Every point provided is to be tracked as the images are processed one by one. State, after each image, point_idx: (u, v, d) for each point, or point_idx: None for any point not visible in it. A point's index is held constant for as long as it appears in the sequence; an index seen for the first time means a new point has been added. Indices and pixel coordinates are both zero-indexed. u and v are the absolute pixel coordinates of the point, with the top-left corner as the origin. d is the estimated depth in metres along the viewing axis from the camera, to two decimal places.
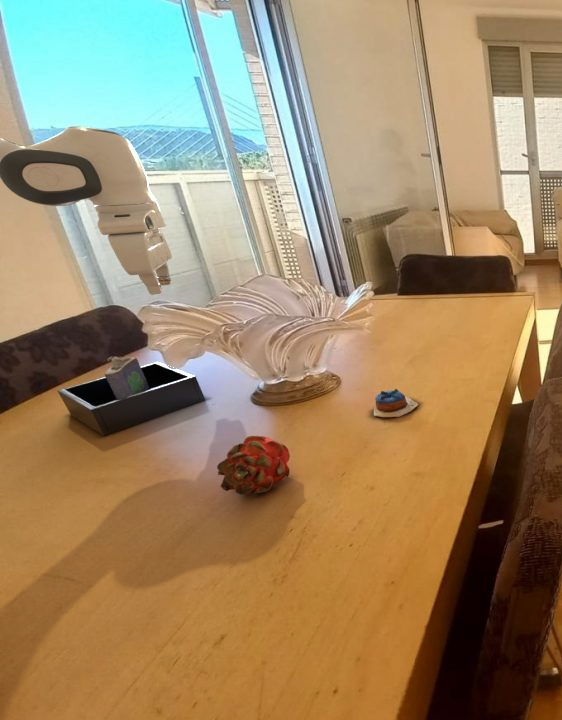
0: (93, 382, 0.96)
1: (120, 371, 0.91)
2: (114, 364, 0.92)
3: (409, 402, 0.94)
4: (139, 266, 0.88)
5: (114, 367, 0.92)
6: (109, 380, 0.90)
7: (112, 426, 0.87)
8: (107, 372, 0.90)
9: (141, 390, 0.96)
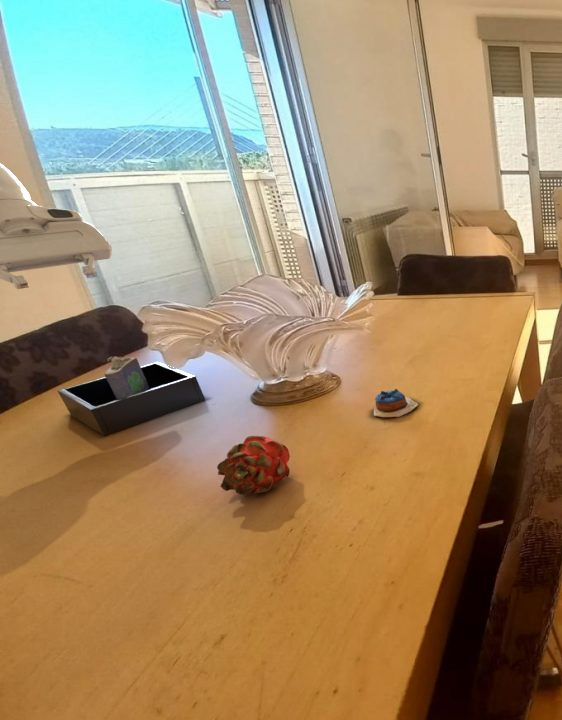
0: (93, 382, 0.96)
1: (120, 371, 0.91)
2: (114, 364, 0.92)
3: (409, 402, 0.94)
4: None
5: (114, 367, 0.92)
6: (109, 380, 0.90)
7: (112, 426, 0.87)
8: (107, 372, 0.90)
9: (141, 390, 0.96)
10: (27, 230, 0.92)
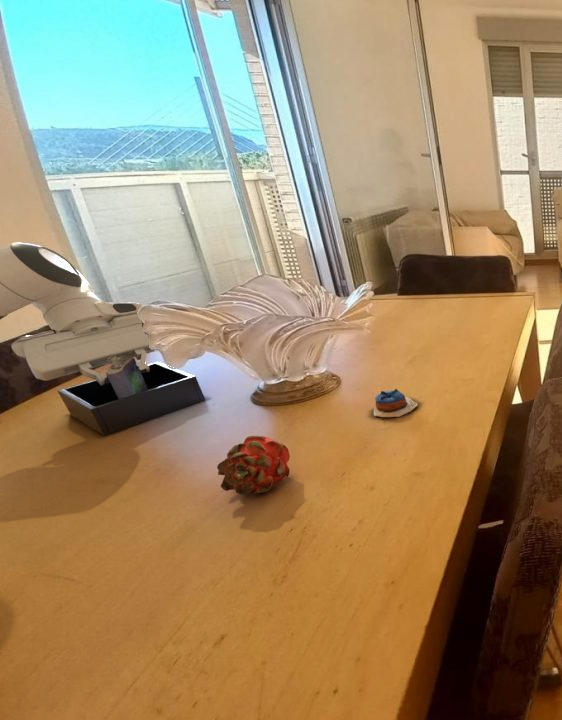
0: (93, 382, 0.96)
1: (122, 371, 0.91)
2: (114, 364, 0.92)
3: (409, 402, 0.94)
4: None
5: (114, 367, 0.92)
6: (111, 380, 0.90)
7: (112, 426, 0.87)
8: (109, 372, 0.90)
9: (140, 390, 0.96)
10: (95, 328, 0.93)
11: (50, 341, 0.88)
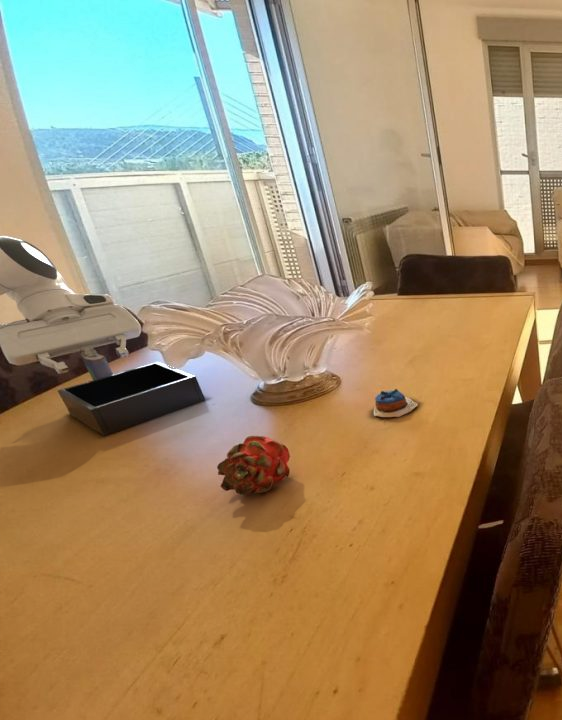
0: (93, 382, 0.96)
1: (104, 356, 0.99)
2: (88, 353, 0.99)
3: (409, 402, 0.94)
4: None
5: (88, 356, 0.99)
6: (97, 365, 0.98)
7: (112, 426, 0.87)
8: (92, 358, 0.98)
9: None
10: (66, 317, 1.00)
11: (23, 329, 0.95)
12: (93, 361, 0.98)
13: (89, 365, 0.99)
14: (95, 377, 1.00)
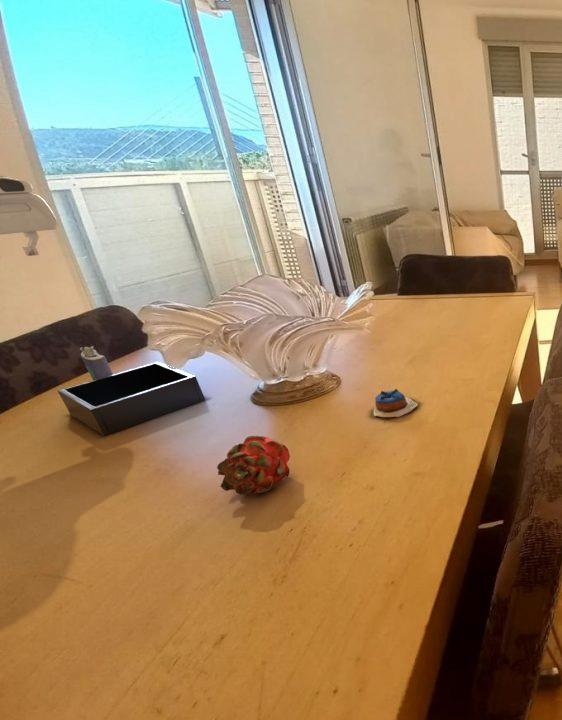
0: (93, 382, 0.96)
1: (104, 356, 0.99)
2: (88, 353, 0.99)
3: (409, 402, 0.94)
4: None
5: (88, 356, 0.99)
6: (97, 365, 0.98)
7: (112, 426, 0.87)
8: (92, 358, 0.98)
9: None
10: None
11: None
12: (93, 361, 0.98)
13: (89, 365, 0.99)
14: (95, 377, 1.00)
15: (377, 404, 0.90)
